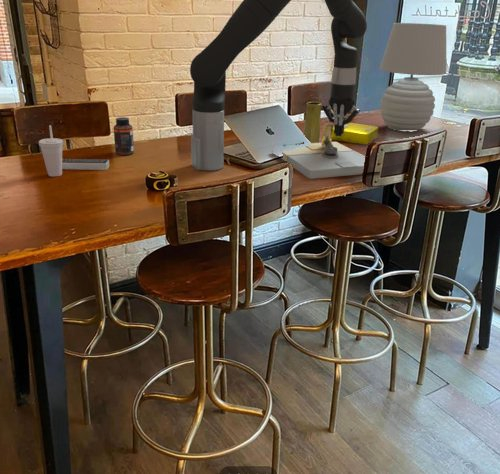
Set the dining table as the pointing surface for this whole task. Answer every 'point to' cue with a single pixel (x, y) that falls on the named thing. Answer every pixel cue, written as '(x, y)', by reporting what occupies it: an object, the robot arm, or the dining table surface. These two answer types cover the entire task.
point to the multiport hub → (85, 164)
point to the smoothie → (52, 154)
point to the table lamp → (412, 73)
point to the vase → (312, 121)
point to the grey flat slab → (325, 161)
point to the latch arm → (328, 140)
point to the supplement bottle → (123, 137)
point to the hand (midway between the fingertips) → (338, 135)
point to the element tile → (357, 133)
